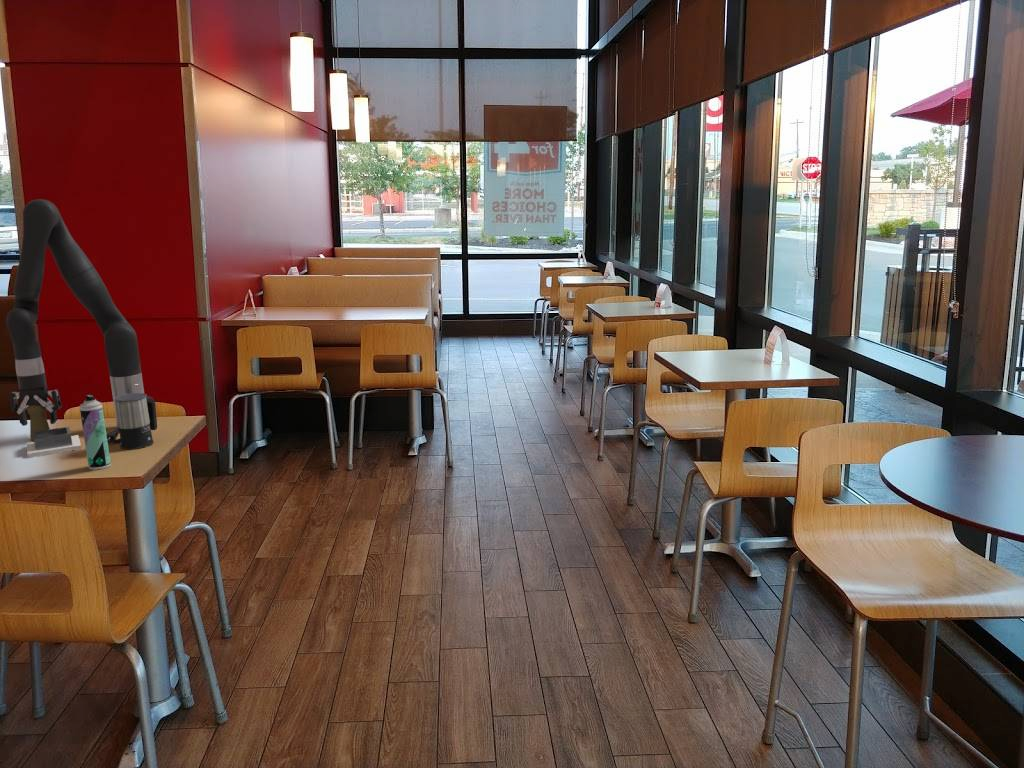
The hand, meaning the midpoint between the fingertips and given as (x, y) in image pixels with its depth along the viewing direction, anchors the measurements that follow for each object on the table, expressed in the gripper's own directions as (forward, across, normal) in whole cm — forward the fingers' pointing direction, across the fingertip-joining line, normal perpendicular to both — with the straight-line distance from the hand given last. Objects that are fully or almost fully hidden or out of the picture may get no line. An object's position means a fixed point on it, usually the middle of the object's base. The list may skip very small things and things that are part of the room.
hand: (39, 424), depth 278 cm
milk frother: (+5, -31, +12) cm, 33 cm away
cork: (+5, 0, 0) cm, 5 cm away
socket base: (+5, -9, +12) cm, 16 cm away
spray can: (+5, -31, +35) cm, 47 cm away
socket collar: (+3, -9, +12) cm, 15 cm away
